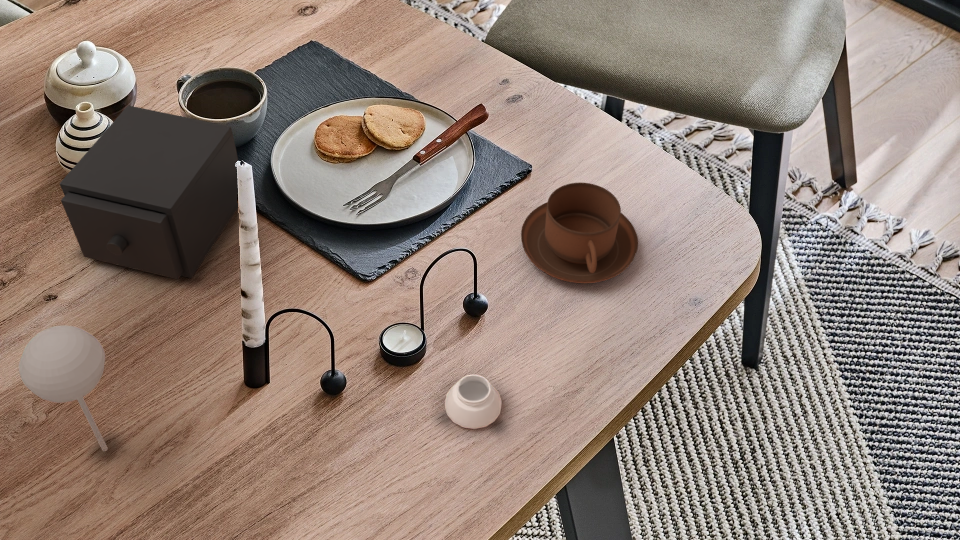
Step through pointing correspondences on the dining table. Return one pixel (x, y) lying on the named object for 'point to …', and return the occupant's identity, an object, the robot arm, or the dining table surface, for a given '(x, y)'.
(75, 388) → the lollipop
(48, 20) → the dining table surface
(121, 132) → the small drawer cabinet
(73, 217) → the black rectangular drawer
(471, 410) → the lidless jar
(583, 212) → the cup and saucer
